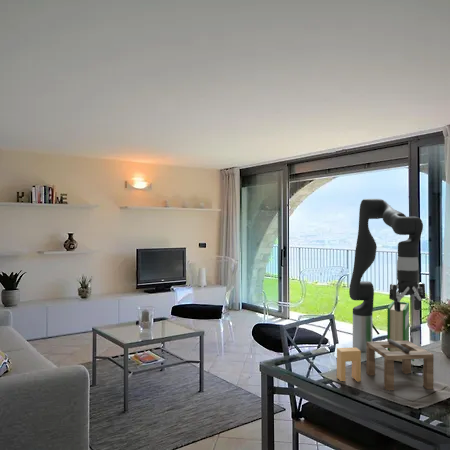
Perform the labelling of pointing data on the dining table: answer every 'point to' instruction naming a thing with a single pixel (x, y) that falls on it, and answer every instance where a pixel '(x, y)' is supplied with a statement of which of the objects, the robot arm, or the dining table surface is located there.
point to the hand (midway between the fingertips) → (407, 310)
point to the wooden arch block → (346, 356)
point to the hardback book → (398, 324)
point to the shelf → (406, 355)
